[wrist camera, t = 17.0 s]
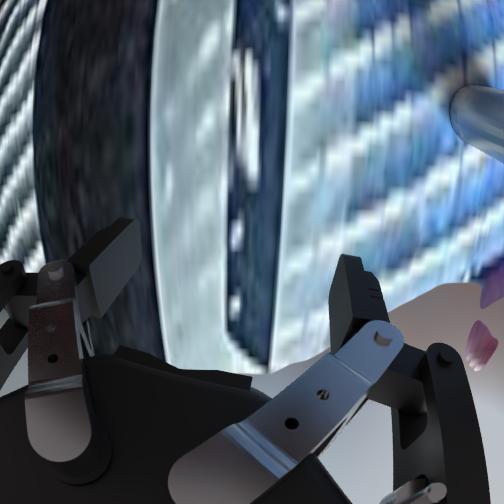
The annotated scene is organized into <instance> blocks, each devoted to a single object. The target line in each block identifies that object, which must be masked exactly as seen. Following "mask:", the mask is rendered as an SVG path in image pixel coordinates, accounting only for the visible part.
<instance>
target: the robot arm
mask: <svg viewBox="0 0 504 504" xmlns="http://www.w3.org/2000/svg"><path fill="white" fill-rule="evenodd" d="M450 117H451V122H452V125H453V128H454V130H455V132H456V134H457V135H458V136H459V137H460V139H462V140H463V141H464V142H466V143H467V144H469V145H471V146H473V147H475V148H477V149H479V150H480V151H482V152H484V153H486V154H488V155H489V156H491V157H493V158H495V159H497V160H498V161H500V162H502V163H503V164H504V90H502V89H497V88H491V87H485V86H478V85H468V86H465V87H463V88H461V89H460V90H459V91H457V93H456V94H455V96H454V97H453V100H452V102H451V107H450ZM141 258H142V248H141V235H140V224H139V221H138V220H137V219H131V218H125V217H120V218H118V219H117V220H116V221H115V222H114V223H113V224H112V225H111V226H109V227H106V228H104V229H102V230H100V231H98V232H97V233H96V234H95V235H93V236H92V237H91V238H90V240H88V241H87V242H86V243H85V245H83V246H82V247H81V248H79V249H78V250H77V251H76V252H75V253H74V254H73V255H72V256H71V257H70V258H69V259H68V260H67V261H65V260H57V261H53V262H50V263H48V264H46V265H45V266H43V267H42V268H41V269H40V271H39V273H25V270H24V267H23V264H22V263H21V262H20V261H17V260H11V261H7V262H4V263H2V264H1V265H0V312H1V311H2V309H3V308H4V307H5V308H6V310H7V312H8V315H9V319H8V320H7V321H6V323H5V324H4V325H3V326H2V328H1V329H0V390H1V388H2V386H3V385H4V383H5V382H6V380H7V378H8V377H9V375H10V373H11V372H12V370H13V369H14V367H15V366H16V364H17V363H18V361H19V360H20V358H21V357H22V355H23V353H24V352H25V351H26V349H27V348H28V382H29V383H28V385H26V386H24V387H22V388H20V389H18V390H15V391H13V392H11V393H9V394H7V395H4V396H2V397H0V504H352V503H351V501H350V500H349V499H348V498H347V496H346V495H345V494H344V492H343V491H342V490H341V488H340V487H339V486H338V484H337V483H336V482H335V480H334V479H333V478H332V476H331V475H330V474H329V472H328V471H327V470H326V469H325V467H324V466H323V464H322V463H321V462H320V460H319V459H318V457H319V456H320V455H321V454H322V453H323V452H324V451H325V450H326V449H327V448H328V447H329V446H330V445H331V443H332V442H333V441H334V440H335V439H336V437H337V436H338V435H339V434H340V433H341V432H342V431H343V430H344V428H345V427H346V426H347V425H348V424H349V423H350V422H351V421H352V419H353V418H354V417H355V416H356V415H357V414H358V412H359V411H360V410H361V409H362V408H363V406H364V405H365V404H366V403H367V401H368V400H369V399H370V400H373V401H376V402H378V403H381V404H384V405H387V406H389V407H391V414H392V432H393V492H392V493H390V494H388V495H387V496H386V497H385V498H384V499H382V501H381V502H380V504H491V503H490V492H489V483H488V474H487V467H486V461H485V455H484V449H483V443H482V438H481V432H480V427H479V423H478V419H477V414H476V409H475V405H474V401H473V397H472V393H471V390H470V386H469V382H468V378H467V375H466V371H465V368H464V365H463V362H462V359H461V357H460V355H459V353H458V352H457V351H456V350H455V349H454V348H452V347H451V346H449V345H447V344H444V343H433V344H431V345H430V346H429V347H428V349H427V350H426V351H423V350H420V349H417V348H415V347H412V346H410V345H407V344H406V343H404V337H403V335H402V333H401V332H400V331H399V329H397V327H395V326H394V325H392V324H390V321H389V317H388V313H387V309H386V306H385V302H384V299H383V295H382V292H381V287H380V284H379V281H378V280H377V278H376V277H375V276H374V275H373V274H372V272H368V271H364V268H363V264H362V260H361V258H360V257H357V256H351V255H345V254H341V256H340V258H339V261H338V265H337V268H336V271H335V275H334V278H333V281H332V285H331V288H330V293H329V320H330V341H331V353H330V352H329V353H327V354H325V355H324V356H323V357H322V358H320V359H319V360H318V361H317V362H316V363H315V364H314V365H312V366H311V367H310V368H309V369H308V370H307V371H306V372H304V373H303V374H302V375H301V376H300V377H298V378H297V379H296V380H295V381H294V382H292V383H291V384H290V385H289V386H287V387H286V388H285V389H284V390H283V391H281V392H280V393H279V394H278V395H277V396H275V397H274V398H273V399H272V398H270V397H269V396H267V395H266V394H264V393H263V392H261V391H259V390H257V389H255V388H253V387H251V382H252V377H251V376H245V375H240V374H235V373H230V372H225V371H220V370H186V369H178V368H176V367H174V366H172V365H170V364H168V363H166V362H164V361H162V360H161V359H159V358H157V357H155V356H153V355H151V354H149V353H146V352H142V351H138V350H135V349H132V348H128V347H125V346H121V345H120V346H119V347H118V349H117V351H116V352H115V354H101V355H95V356H94V352H93V346H92V341H91V335H90V330H89V324H88V321H87V318H88V317H89V315H92V316H95V317H99V318H102V316H103V315H104V313H105V312H106V311H107V309H108V308H109V306H110V305H111V304H112V302H113V301H114V299H115V298H116V297H117V295H118V294H119V293H120V291H121V290H122V289H123V287H124V286H125V284H126V283H127V282H128V280H129V279H130V278H131V276H132V275H133V274H134V272H135V271H136V270H137V269H138V267H139V265H140V263H141Z"/></svg>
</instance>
